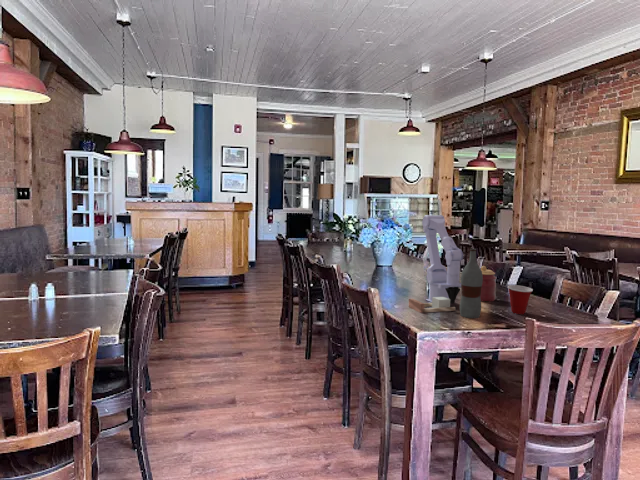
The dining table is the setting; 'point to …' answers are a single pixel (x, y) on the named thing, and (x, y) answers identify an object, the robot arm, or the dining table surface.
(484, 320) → the dining table surface
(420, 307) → the keeper channel
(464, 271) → the bottle
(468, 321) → the dining table surface
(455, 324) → the dining table surface
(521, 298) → the plastic cup
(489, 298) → the canister
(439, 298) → the keeper block
